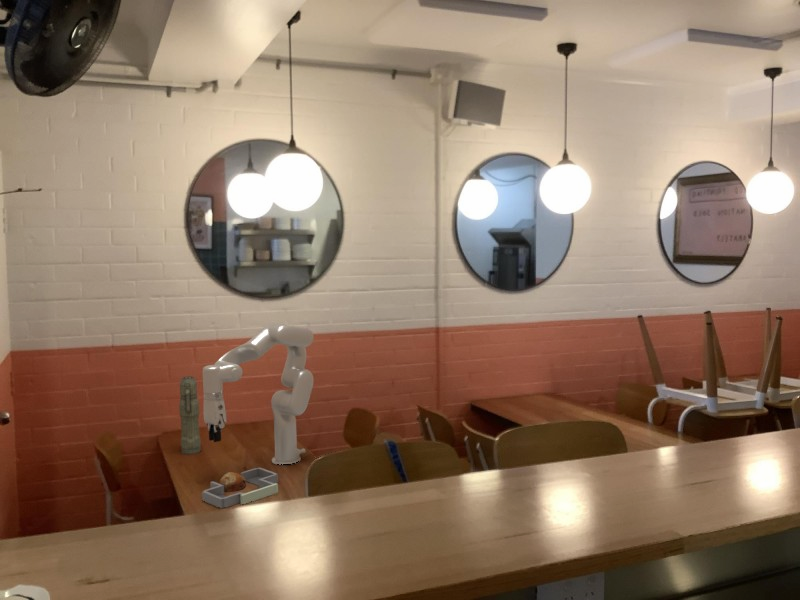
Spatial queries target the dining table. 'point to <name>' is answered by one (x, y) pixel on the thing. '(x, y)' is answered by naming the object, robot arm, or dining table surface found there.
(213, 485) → the channel
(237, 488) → the bread roll
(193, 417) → the grey green carved statue
